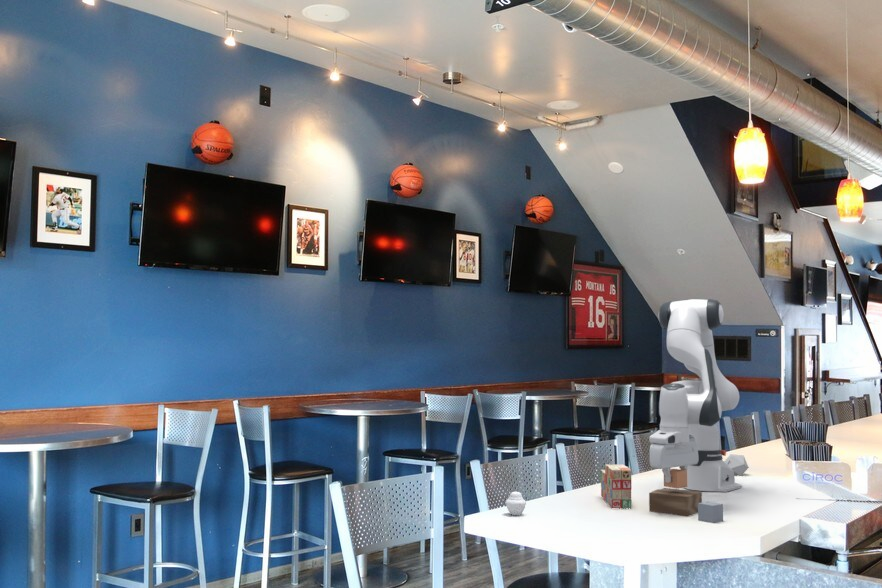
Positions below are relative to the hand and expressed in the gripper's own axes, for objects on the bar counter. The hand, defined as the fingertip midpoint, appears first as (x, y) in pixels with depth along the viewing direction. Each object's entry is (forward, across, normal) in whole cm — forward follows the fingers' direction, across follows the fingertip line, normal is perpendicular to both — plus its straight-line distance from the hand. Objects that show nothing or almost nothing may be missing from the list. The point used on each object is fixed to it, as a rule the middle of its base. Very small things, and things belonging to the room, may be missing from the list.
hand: (675, 481), depth 246 cm
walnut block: (+9, 0, 0) cm, 9 cm away
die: (+10, -85, -33) cm, 92 cm away
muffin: (+9, +44, -25) cm, 52 cm away
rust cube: (+2, 0, 0) cm, 2 cm away
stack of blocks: (+9, +4, -21) cm, 23 cm away
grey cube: (+9, +4, +15) cm, 18 cm away
